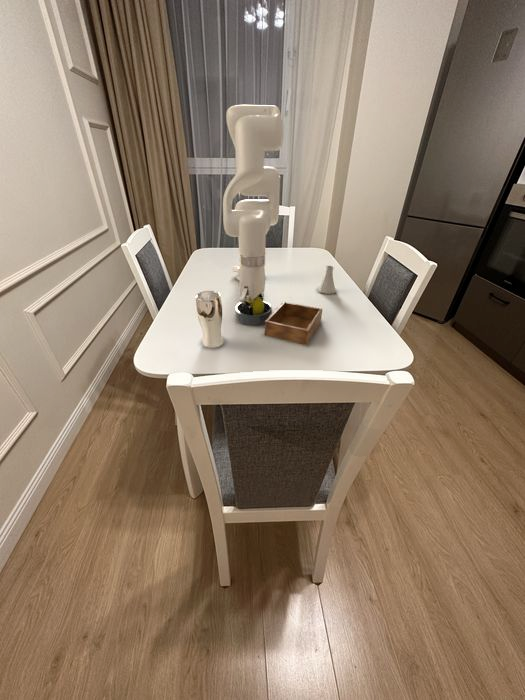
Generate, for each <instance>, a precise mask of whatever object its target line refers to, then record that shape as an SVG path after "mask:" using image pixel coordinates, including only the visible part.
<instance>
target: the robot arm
mask: <svg viewBox="0 0 525 700" xmlns="http://www.w3.org/2000/svg"><path fill="white" fill-rule="evenodd" d="M225 114H226V115H225V116H226V126H227V130H228V133H229V135H230V138H231V141H232V144H233V147H234V150H235V175H234V177H232V179H231V180H230V182H229V183H228V185H227V187H226V188H225V191H224V192H223V193H224V194H223V198H222V219H223V222H222V223H223V229H224V233H225V234H226V235H227V236H229V237H232V238H237V239H238V260H239V262H238V264H239V266H236V265H233V266H232V272H233V273H236V280H237V281H239V284H238V285H239V288H238V291H239V297H240V298H239V303H240V302H241V303H242V306H243V311H244V314H247V315H253V307H252V302H253V299H254V298H256V297H257V296H258V297H260V298H261V299H262V300H263V301H264V296H265V293H264V292H265V288H266V270H265V269H266V268H265V267H266V244H267V243H266V240H267V239H266V237H267V234H268V232H269V231H270V229H271V226H275V225H277V224H278V221H279V217H280V216H279V215H280V196H281V195H280V190H281V179H280V178H281V177H280V173H279V171H278V169H277V168H276V167H273V166H265V152H278V151H280V150H281V148H282V147H283V145H284V137H285V128H284V123H283V117H282V114H281V111H280V108H279V107H278V106H277V105H272V104H271V105H268V104H235V105H232V106H230V107H228V109H227V110H226V113H225ZM238 194H240V195H242V196H243V197H244V196H245V197H266V198H267V199H242V200H239V201H238V202H236V204H235V207H234V209H233V201H234V199H235V197H236V196H237V195H238ZM249 296H251V298H250V297H249ZM247 299H249V300H250V302H249V303H248V302H247V301H246V300H247Z"/></svg>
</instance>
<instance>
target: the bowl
mask: <svg viewBox="0 0 525 700" xmlns="http://www.w3.org/2000/svg"><path fill="white" fill-rule="evenodd" d="M263 302H264V311H263V313H262V314H260V315H247V314H244V311H243V306H242V303H241V302H240V301H239V302H238V303H237V304H236V305H235V307H234V310H235V311H234V312H235V320H236V321H237V322H238V323H239V324H242V325H246V326H252V327H254V326H261V325H265V321H266V320H267V319H268V318H269V316H270V315H271V314H272V313H273V306H272V304H271V303H269V302H268V301H264V300H263Z"/></svg>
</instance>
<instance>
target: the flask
mask: <svg viewBox="0 0 525 700" xmlns="http://www.w3.org/2000/svg"><path fill="white" fill-rule="evenodd" d="M334 269H335V266H333V265H326V266H325V273H324V276H323V278H322V280H321V281H320V284H319V286H318V288H317V291H318V292H319V293H321V294H327V295H328V294H330V295H331V294H334V293H336V287H335V282H334V275H333V274H334V273H333V271H334Z"/></svg>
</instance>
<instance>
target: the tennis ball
mask: <svg viewBox="0 0 525 700" xmlns="http://www.w3.org/2000/svg"><path fill="white" fill-rule="evenodd" d="M248 297H250V298H251V296H249V295H248ZM246 301H247V302H248V303H249V302H250V300H249V299H247V300H246ZM263 301H264V299H263V300H262V299H261V298H260V297H258V296H257V297H256V298H254V299H253V302H252V307H253V315H260V314H262V313H263V311H264V302H263Z"/></svg>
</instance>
